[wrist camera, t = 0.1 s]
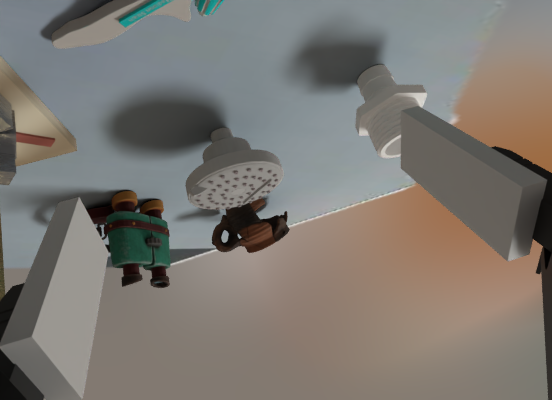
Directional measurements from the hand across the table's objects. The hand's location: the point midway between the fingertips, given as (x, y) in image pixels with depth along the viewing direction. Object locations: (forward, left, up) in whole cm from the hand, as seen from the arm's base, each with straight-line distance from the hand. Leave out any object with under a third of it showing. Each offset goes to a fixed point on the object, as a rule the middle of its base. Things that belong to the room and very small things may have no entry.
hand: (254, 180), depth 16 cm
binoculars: (+31, -14, -16) cm, 38 cm away
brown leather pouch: (+42, +1, -16) cm, 45 cm away
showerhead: (+20, 0, -15) cm, 25 cm away
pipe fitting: (+17, +16, -15) cm, 28 cm away
